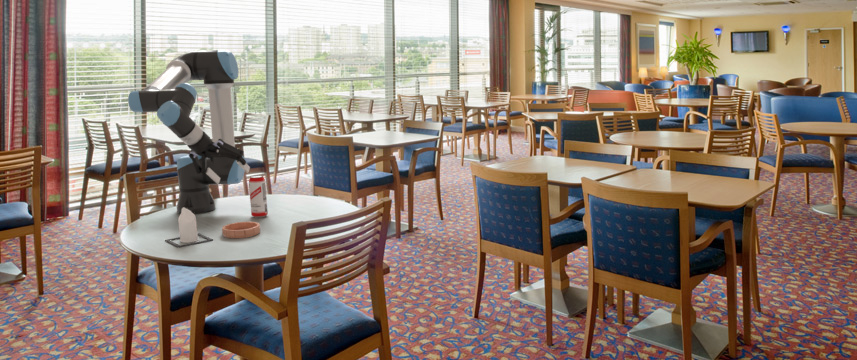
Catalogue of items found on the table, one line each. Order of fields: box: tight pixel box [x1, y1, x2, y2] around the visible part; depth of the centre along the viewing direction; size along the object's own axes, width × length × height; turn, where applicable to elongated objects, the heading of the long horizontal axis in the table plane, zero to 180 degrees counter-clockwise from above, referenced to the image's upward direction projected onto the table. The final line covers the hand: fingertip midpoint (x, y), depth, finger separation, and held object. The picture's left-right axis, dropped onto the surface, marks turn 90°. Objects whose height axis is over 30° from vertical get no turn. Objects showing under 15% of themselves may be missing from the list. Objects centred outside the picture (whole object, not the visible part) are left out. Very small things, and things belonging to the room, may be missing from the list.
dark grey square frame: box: [164, 232, 214, 248], centre depth 230 cm, size 12×12×1 cm
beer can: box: [248, 174, 269, 219], centre depth 261 cm, size 6×6×16 cm
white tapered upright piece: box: [177, 207, 199, 244], centre depth 229 cm, size 6×12×6 cm
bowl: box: [221, 221, 261, 239], centre depth 237 cm, size 13×13×3 cm
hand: (233, 175), depth 247 cm, fingers open, 13 cm apart
